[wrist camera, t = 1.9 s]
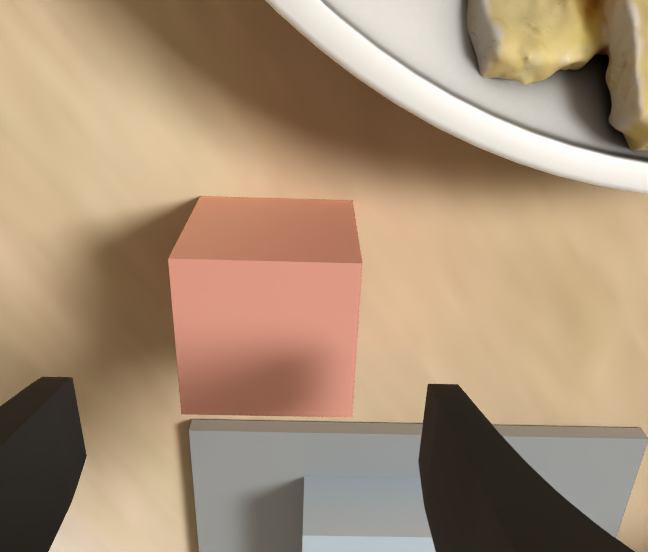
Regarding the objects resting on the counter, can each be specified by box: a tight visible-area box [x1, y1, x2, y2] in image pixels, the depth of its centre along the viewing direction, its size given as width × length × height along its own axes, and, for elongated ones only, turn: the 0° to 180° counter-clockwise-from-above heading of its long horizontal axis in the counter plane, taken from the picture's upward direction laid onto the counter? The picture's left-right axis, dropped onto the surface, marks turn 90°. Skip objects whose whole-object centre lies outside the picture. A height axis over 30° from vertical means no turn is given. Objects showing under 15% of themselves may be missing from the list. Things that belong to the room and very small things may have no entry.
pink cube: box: [168, 196, 362, 417], centre depth 17 cm, size 4×4×4 cm
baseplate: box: [189, 419, 648, 552], centre depth 24 cm, size 16×12×1 cm
